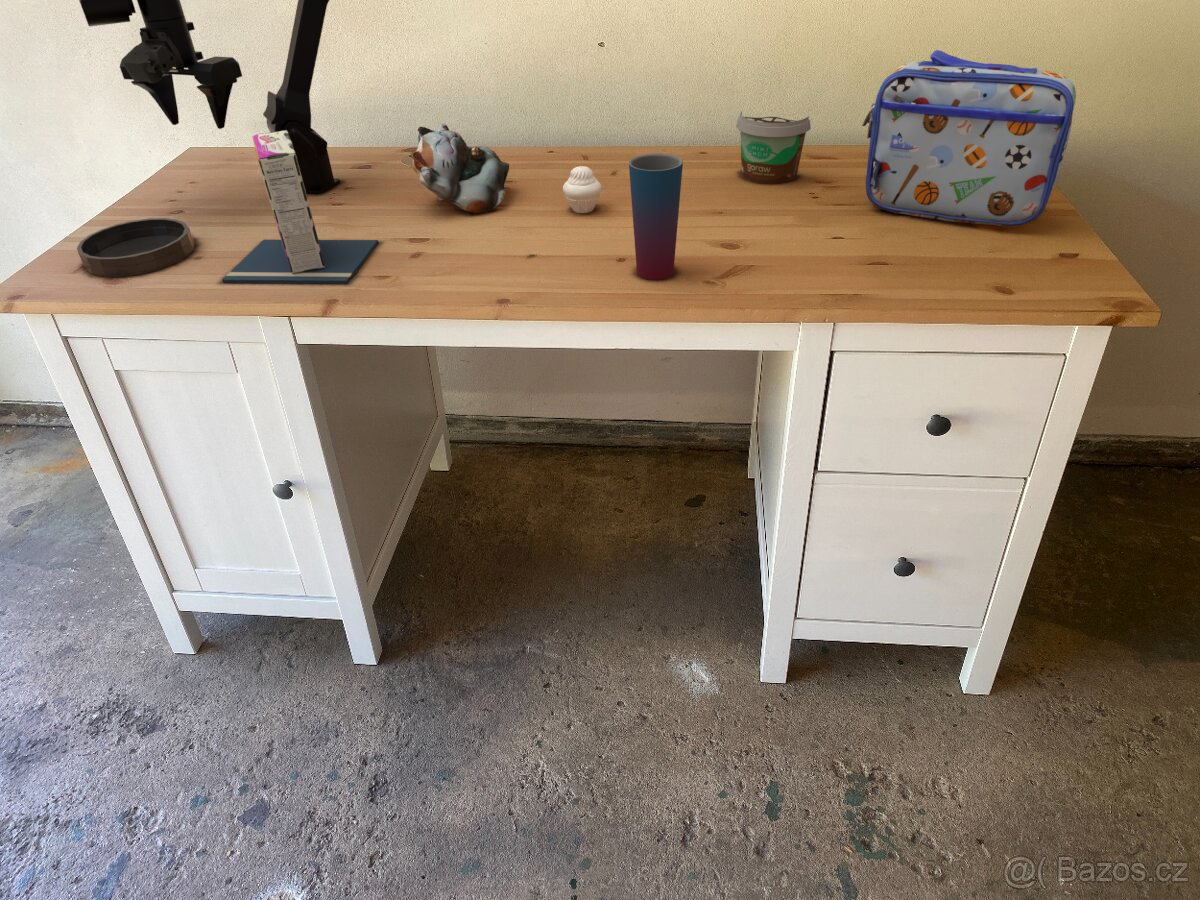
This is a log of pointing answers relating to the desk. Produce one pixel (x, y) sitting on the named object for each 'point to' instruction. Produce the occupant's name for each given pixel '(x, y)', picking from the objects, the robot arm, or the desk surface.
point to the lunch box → (968, 140)
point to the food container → (771, 147)
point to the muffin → (582, 190)
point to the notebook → (274, 268)
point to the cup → (655, 212)
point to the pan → (136, 247)
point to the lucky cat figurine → (459, 170)
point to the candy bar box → (288, 201)
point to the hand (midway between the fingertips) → (198, 126)
